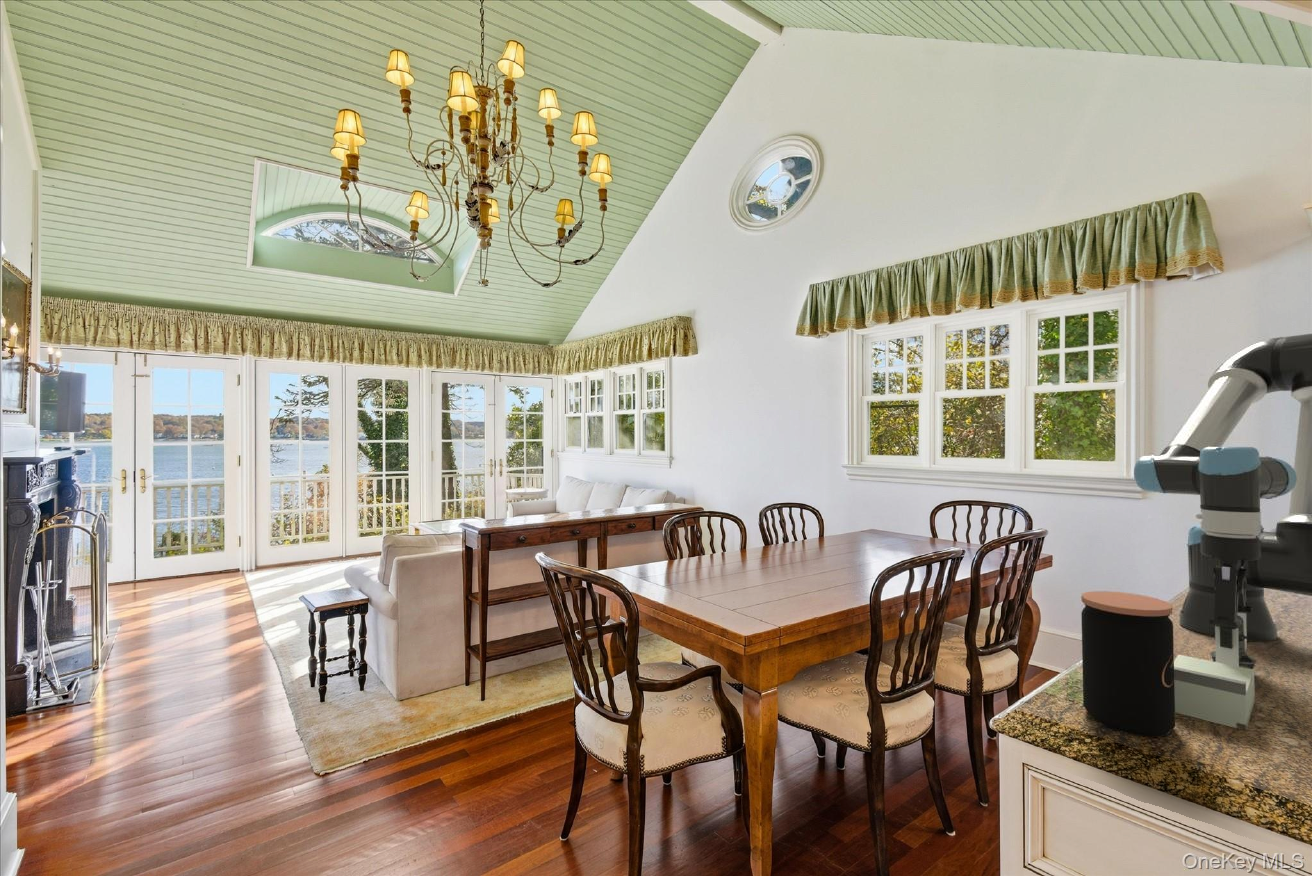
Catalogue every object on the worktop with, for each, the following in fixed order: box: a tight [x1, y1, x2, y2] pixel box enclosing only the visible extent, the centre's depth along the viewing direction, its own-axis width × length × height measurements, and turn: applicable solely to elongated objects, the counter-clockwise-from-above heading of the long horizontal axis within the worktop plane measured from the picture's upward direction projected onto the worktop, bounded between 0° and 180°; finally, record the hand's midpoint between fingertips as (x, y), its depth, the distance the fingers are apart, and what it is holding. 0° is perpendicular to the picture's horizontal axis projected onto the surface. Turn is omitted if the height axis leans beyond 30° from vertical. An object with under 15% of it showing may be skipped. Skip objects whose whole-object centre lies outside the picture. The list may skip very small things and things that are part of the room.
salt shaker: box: [1209, 615, 1258, 684], centre depth 102 cm, size 6×6×12 cm
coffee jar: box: [1080, 590, 1176, 738], centre depth 87 cm, size 11×11×18 cm
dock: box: [1174, 654, 1256, 732], centre depth 91 cm, size 14×9×7 cm, turn 131°
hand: (1231, 656), depth 102 cm, fingers open, 13 cm apart
